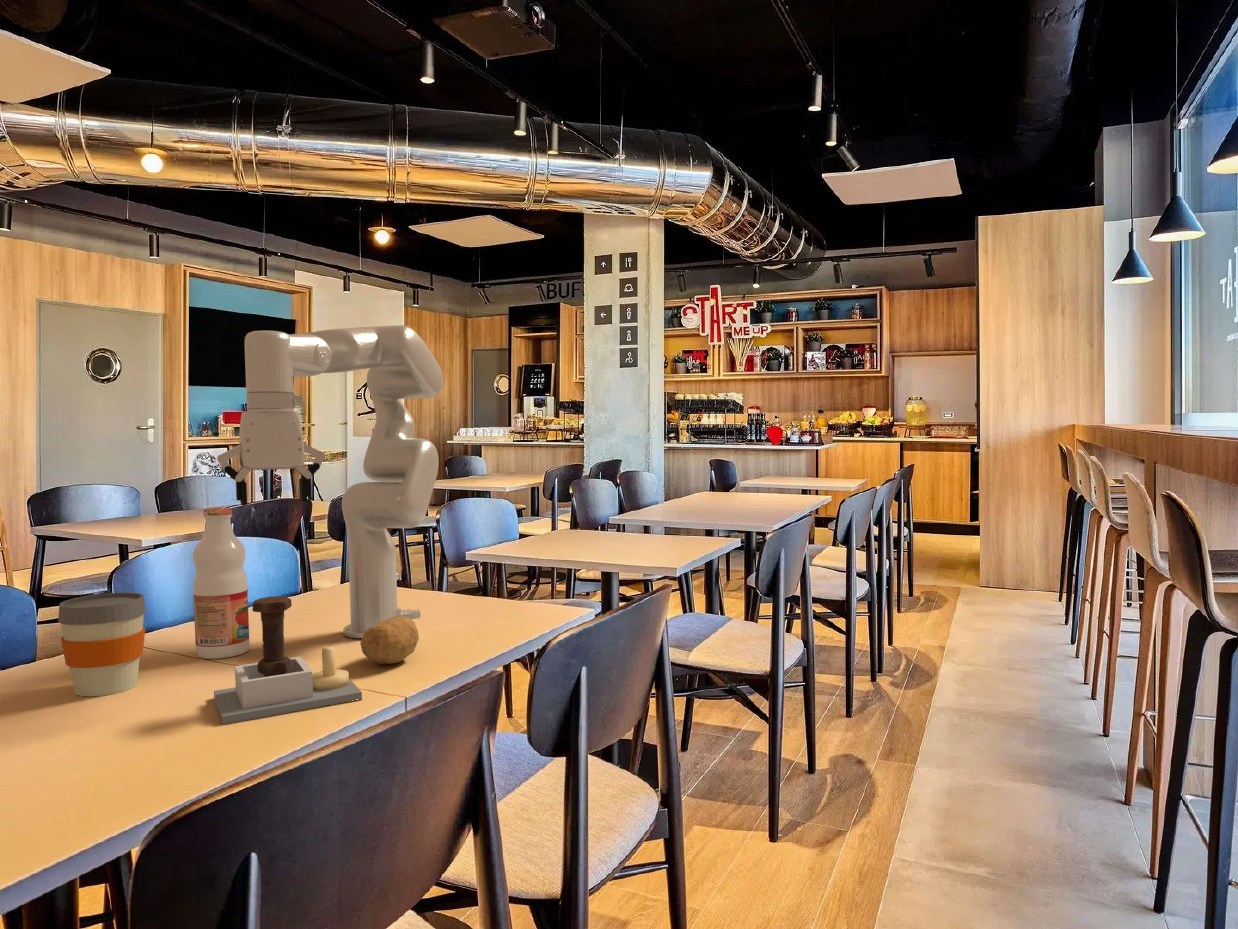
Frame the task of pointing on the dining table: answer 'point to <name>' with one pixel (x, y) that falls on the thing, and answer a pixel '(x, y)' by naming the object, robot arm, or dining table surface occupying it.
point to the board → (284, 690)
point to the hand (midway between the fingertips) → (274, 502)
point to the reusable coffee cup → (103, 641)
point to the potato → (390, 640)
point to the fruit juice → (220, 590)
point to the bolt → (273, 635)
